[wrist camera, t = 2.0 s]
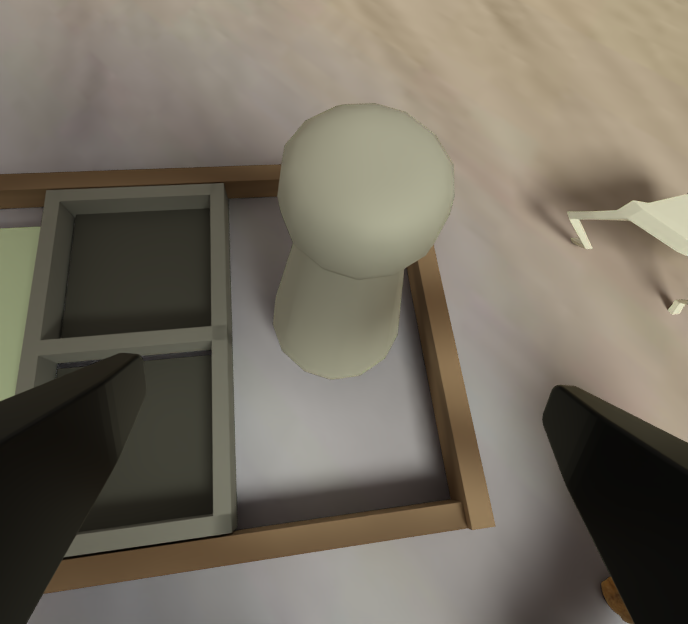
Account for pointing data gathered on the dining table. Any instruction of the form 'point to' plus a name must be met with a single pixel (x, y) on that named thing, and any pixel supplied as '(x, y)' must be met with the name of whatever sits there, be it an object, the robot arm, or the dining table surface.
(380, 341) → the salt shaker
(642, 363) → the dining table surface
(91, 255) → the trap pits
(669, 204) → the origami figure
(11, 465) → the robot arm
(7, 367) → the pad
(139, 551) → the wooden frame
